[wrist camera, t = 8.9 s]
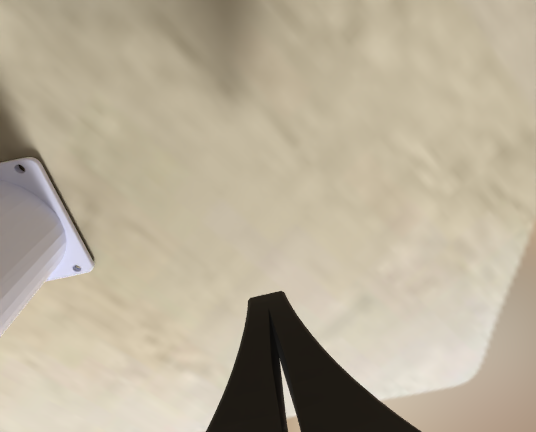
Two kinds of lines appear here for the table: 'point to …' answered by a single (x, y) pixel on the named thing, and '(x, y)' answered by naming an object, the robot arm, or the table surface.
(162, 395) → the table surface
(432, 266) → the table surface
